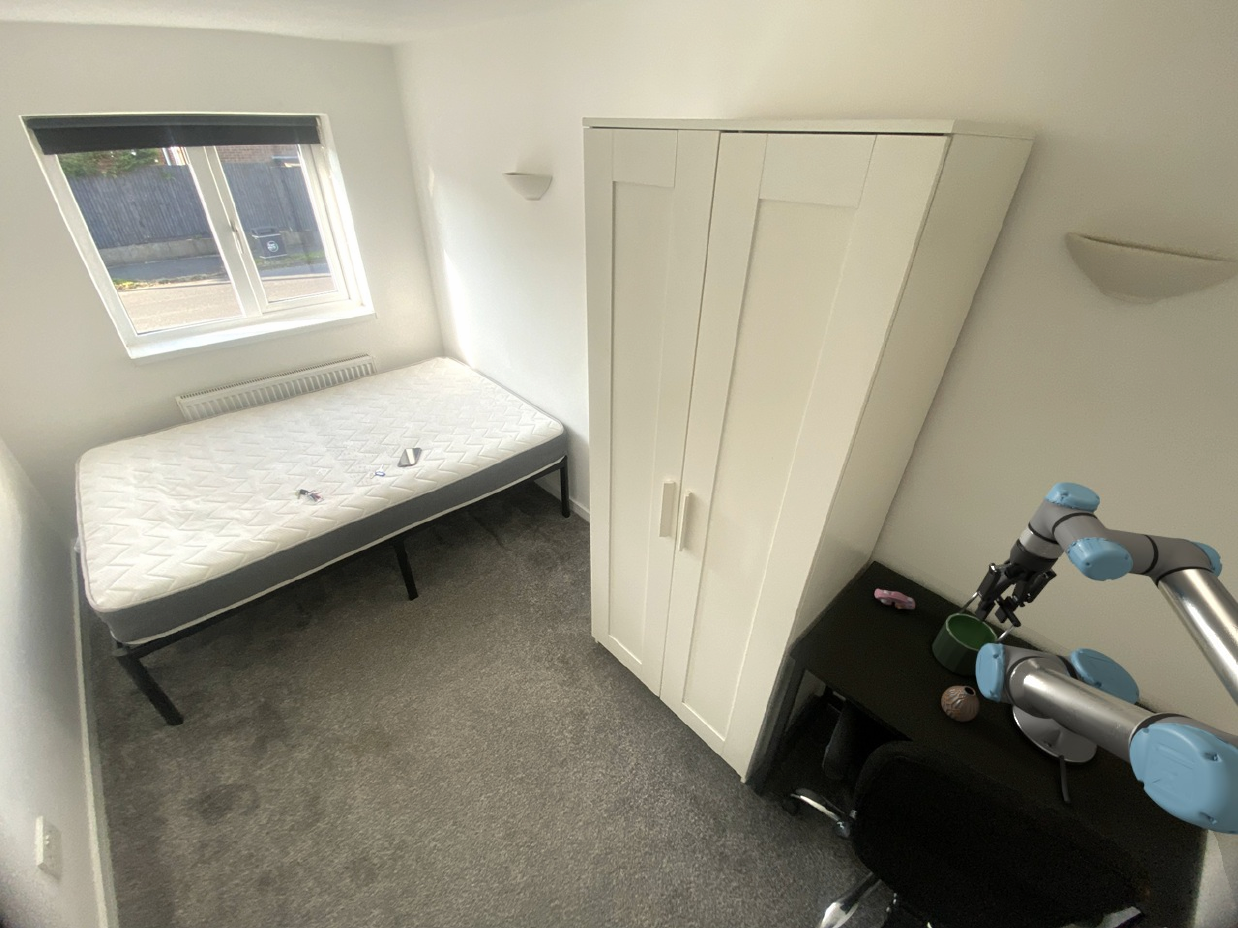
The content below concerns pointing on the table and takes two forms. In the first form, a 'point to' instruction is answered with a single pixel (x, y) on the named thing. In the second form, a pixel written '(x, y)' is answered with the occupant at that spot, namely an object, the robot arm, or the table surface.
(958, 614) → the bucket
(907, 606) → the video game controller
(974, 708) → the vase
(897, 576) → the table surface
